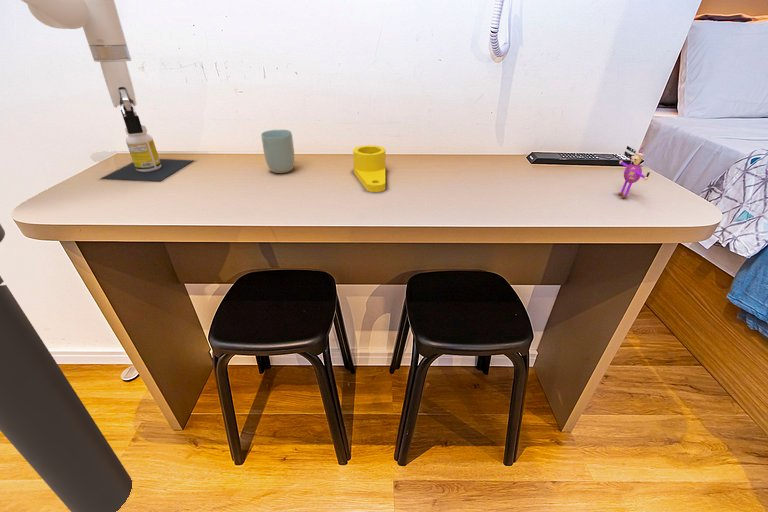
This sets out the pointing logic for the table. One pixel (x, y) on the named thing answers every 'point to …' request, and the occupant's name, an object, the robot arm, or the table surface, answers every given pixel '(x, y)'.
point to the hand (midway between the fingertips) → (134, 129)
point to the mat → (158, 175)
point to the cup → (278, 150)
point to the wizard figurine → (632, 170)
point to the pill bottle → (143, 151)
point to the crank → (370, 167)
